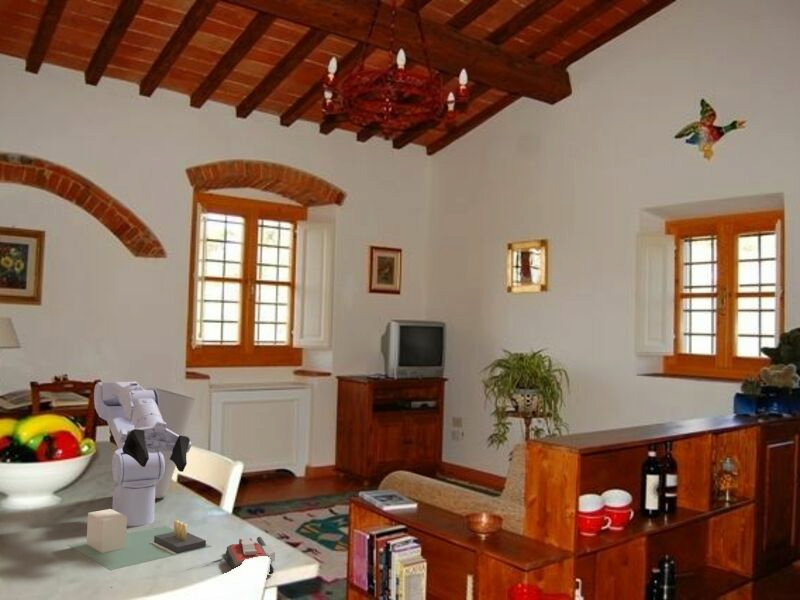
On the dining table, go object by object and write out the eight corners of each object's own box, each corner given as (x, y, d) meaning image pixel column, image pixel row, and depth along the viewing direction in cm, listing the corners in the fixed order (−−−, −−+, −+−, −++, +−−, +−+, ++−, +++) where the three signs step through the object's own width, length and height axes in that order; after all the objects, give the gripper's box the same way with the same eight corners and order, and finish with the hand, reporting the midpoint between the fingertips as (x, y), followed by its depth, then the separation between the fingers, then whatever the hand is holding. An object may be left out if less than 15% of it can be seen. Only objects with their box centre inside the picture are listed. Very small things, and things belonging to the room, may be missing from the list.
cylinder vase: (151, 500, 170) (184, 398, 174) (104, 485, 172) (138, 384, 176) (173, 497, 182) (204, 401, 186) (130, 483, 184) (161, 388, 188)
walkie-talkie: (284, 578, 128) (264, 544, 146) (285, 553, 128) (264, 522, 146) (234, 583, 124) (219, 548, 143) (235, 558, 125) (220, 525, 143)
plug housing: (86, 544, 138) (87, 512, 139) (109, 539, 142) (110, 508, 142) (102, 553, 134) (103, 520, 134) (125, 548, 137) (127, 516, 137)
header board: (68, 550, 138) (69, 523, 138) (165, 530, 152) (166, 505, 152) (110, 575, 125) (111, 545, 125) (211, 551, 140) (212, 524, 140)
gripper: (122, 403, 143) (135, 441, 133) (190, 415, 152) (207, 452, 141) (109, 433, 145) (121, 473, 134) (177, 443, 153) (193, 482, 143)
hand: (164, 464), depth 138 cm, fingers open, 7 cm apart
